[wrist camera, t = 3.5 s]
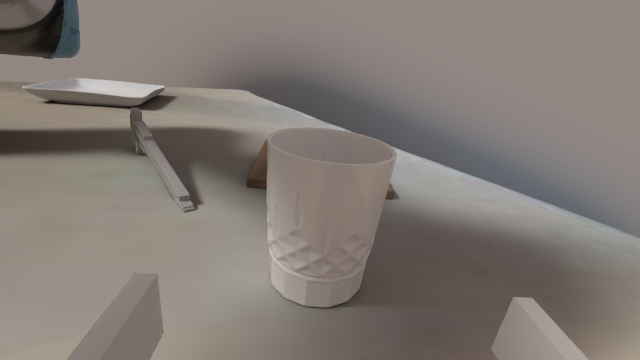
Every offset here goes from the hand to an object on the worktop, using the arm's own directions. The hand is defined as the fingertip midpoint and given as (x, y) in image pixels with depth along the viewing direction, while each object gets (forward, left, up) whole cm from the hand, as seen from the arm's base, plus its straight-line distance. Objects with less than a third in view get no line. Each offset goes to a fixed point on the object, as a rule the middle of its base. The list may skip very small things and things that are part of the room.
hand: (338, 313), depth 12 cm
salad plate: (-47, +67, -7) cm, 82 cm away
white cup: (0, +10, -6) cm, 12 cm away
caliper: (-18, +26, -6) cm, 32 cm away
